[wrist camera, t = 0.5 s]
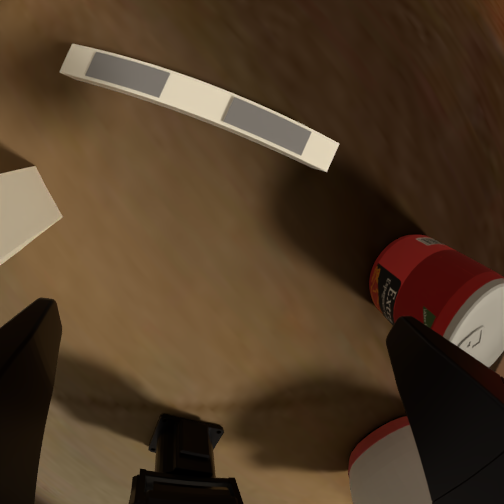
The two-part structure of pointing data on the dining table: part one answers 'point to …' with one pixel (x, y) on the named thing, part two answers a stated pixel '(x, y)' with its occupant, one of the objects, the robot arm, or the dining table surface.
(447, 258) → the canned food
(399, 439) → the citrus juicer
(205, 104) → the rail
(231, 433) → the dining table surface
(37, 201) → the carton
